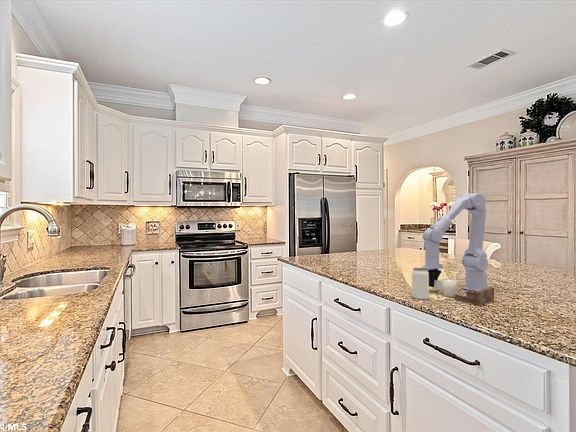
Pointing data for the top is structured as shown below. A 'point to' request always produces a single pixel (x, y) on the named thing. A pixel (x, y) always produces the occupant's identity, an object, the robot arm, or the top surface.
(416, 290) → the can
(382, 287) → the top surface
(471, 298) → the holder
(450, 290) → the jug
